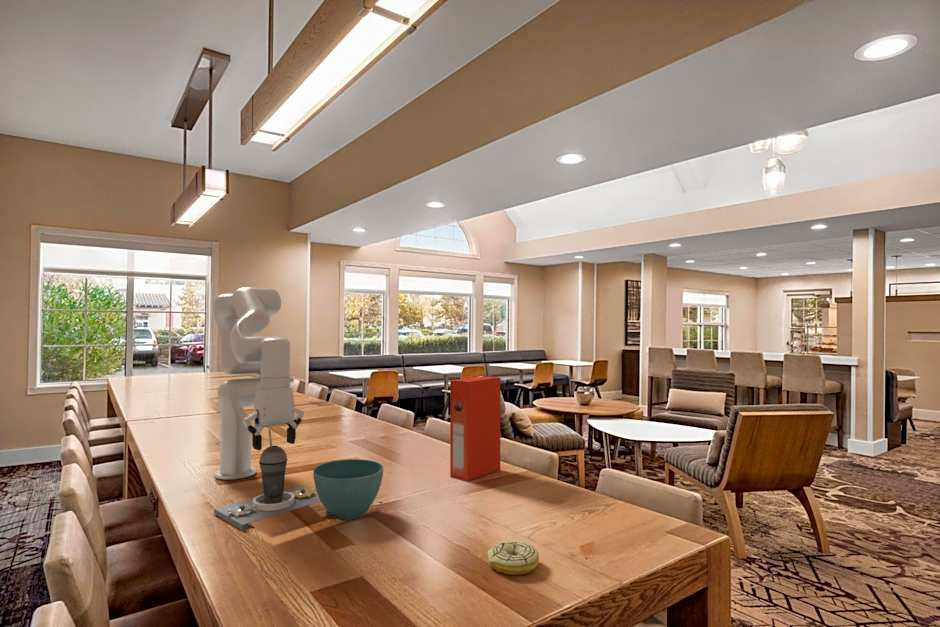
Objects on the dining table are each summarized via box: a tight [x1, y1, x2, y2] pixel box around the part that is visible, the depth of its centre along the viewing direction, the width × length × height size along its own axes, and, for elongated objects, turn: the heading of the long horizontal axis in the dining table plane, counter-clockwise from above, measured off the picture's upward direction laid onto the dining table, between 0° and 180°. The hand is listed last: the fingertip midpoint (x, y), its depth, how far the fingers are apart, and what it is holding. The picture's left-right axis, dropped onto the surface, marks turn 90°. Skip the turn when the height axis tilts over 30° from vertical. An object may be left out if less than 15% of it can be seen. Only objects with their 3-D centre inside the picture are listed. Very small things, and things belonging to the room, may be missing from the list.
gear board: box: [213, 486, 322, 532], centre depth 142 cm, size 16×25×3 cm, turn 139°
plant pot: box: [312, 458, 384, 521], centre depth 139 cm, size 18×18×12 cm
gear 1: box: [227, 505, 256, 518], centre depth 136 cm, size 7×7×2 cm
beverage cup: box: [258, 429, 288, 504], centre depth 142 cm, size 7×7×20 cm
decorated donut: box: [487, 541, 540, 576], centre depth 111 cm, size 10×11×4 cm
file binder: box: [449, 375, 501, 482], centre depth 177 cm, size 8×17×32 cm, turn 140°
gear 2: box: [291, 488, 317, 500], centre depth 149 cm, size 7×7×2 cm
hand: (274, 446), depth 143 cm, fingers open, 9 cm apart
